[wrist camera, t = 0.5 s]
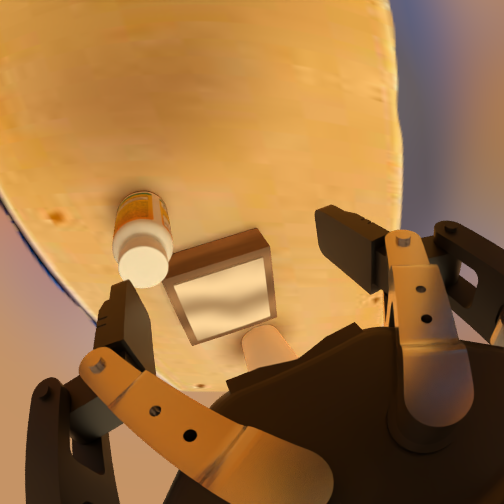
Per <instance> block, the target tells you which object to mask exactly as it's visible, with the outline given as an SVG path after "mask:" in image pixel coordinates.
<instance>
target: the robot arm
mask: <svg viewBox="0 0 504 504" xmlns="http://www.w3.org/2000/svg"><path fill="white" fill-rule="evenodd" d="M315 222H316V229H317V237H318V244H319V247H320V250H321V252H322V253H323V255H324V256H325V257H326V258H328V259H329V260H330V261H331V262H332V263H334V264H335V265H336V266H337V267H338V268H340V269H341V270H342V271H343V272H344V273H346V274H347V275H348V276H349V277H350V278H351V279H353V280H354V281H355V282H356V283H357V284H359V285H360V286H361V287H362V288H363V289H364V290H366V291H367V292H368V293H369V294H370V295H371V294H373V293H375V292H377V291H379V290H383V318H384V327H373V328H368V329H363V330H362V329H361V328H360V327H359V326H358V325H357V324H356V323H355V322H354V323H352V324H350V325H348V326H346V327H344V328H342V329H341V330H339V331H337V332H335V333H333V334H331V335H329V336H327V337H325V338H324V339H323V340H322V341H320V342H319V343H318V344H317V345H315V346H314V347H313V348H312V349H310V350H309V351H308V352H306V353H305V354H304V355H303V356H301V357H300V358H298V359H295V360H291V361H287V362H282V363H278V364H273V365H269V366H264V367H259V368H257V369H254V370H252V371H249V372H247V373H244V374H242V375H239V376H237V377H234V378H232V379H229V380H226V383H227V386H228V388H229V391H228V392H227V393H225V394H224V395H223V396H221V397H220V398H219V399H218V400H216V402H215V403H213V405H211V407H210V408H207V407H205V406H204V405H202V404H200V403H198V402H197V401H195V400H193V399H191V398H190V397H188V396H186V395H185V394H183V393H182V392H180V391H178V390H177V389H175V388H174V387H172V386H170V385H169V384H167V383H166V382H164V381H163V380H161V379H160V378H158V377H157V376H156V370H155V362H154V353H153V343H152V332H151V322H150V318H149V315H148V313H147V311H146V309H145V307H144V305H143V303H142V301H141V299H140V298H139V296H138V294H137V292H136V290H135V288H134V286H133V284H132V283H131V281H130V280H129V279H127V280H125V281H122V282H120V283H117V284H115V285H112V286H111V292H110V298H109V300H107V301H105V302H104V303H103V305H102V307H101V308H100V310H99V314H98V321H97V326H96V327H97V328H96V333H95V340H94V347H93V350H92V351H91V352H89V353H88V354H87V355H86V356H85V357H84V358H83V360H82V361H81V363H80V366H79V376H77V377H76V378H74V379H72V380H71V381H69V382H68V383H66V384H64V385H62V383H61V382H60V381H59V380H58V379H56V378H53V377H50V378H47V379H45V380H43V381H42V382H40V383H39V384H38V386H37V387H36V388H35V390H34V392H33V394H32V398H31V405H30V413H29V421H28V431H27V443H26V463H25V491H26V504H120V503H119V497H118V492H117V488H116V482H115V476H114V470H113V464H112V457H111V450H110V442H109V433H108V432H110V431H111V430H113V429H115V428H116V427H118V426H119V425H121V424H123V423H124V424H125V425H126V426H128V427H129V428H130V429H131V430H132V431H133V432H134V433H135V434H136V435H137V436H138V437H140V438H141V439H142V440H143V441H144V442H145V443H147V444H148V445H149V446H150V447H151V448H153V449H154V450H155V451H156V452H157V453H159V454H160V455H161V456H163V457H164V458H165V459H166V460H168V461H169V462H170V463H171V464H173V465H174V466H175V467H177V468H178V469H179V470H178V472H177V474H176V477H175V479H174V481H173V483H172V485H171V487H170V490H169V492H168V494H167V496H166V498H165V500H164V502H163V504H504V249H502V248H501V247H499V246H497V245H496V244H494V243H492V242H491V241H489V240H487V239H486V238H484V237H482V236H481V235H479V234H477V233H475V232H474V231H472V230H470V229H468V228H467V227H464V226H463V225H461V224H459V223H457V222H453V221H441V222H438V223H436V224H435V226H434V235H433V236H429V237H424V238H421V237H420V236H419V235H418V234H417V233H415V232H412V231H409V230H395V231H391V232H389V231H387V230H386V229H384V228H382V227H380V226H378V225H377V224H375V223H373V222H372V223H371V221H369V220H367V219H365V218H364V217H362V216H360V215H358V214H356V213H351V212H346V211H343V210H342V209H340V208H338V207H336V206H334V205H329V206H326V207H323V208H320V209H318V210H316V211H315ZM462 262H463V263H464V264H466V265H467V266H469V267H470V268H472V269H473V270H474V271H475V272H476V274H477V276H478V285H477V288H476V287H475V286H473V285H472V284H471V283H469V282H468V281H467V280H465V279H464V278H463V277H461V276H460V275H459V273H460V268H461V263H462ZM451 309H452V310H453V311H454V312H455V313H456V314H457V315H458V316H460V317H461V318H462V319H463V320H464V321H465V322H466V323H467V324H469V325H470V326H471V327H472V328H473V329H474V330H475V331H477V333H479V334H480V335H481V336H482V337H483V338H484V339H485V340H486V341H487V342H488V343H489V344H490V345H488V344H482V343H476V342H470V341H464V340H459V338H458V334H457V329H456V326H455V321H454V318H453V313H452V310H451ZM70 437H71V438H72V452H73V455H72V453H71V451H70Z"/></svg>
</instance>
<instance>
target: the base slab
mask: <svg viewBox="0 0 504 504" xmlns="http://www.w3.org/2000/svg"><path fill="white" fill-rule="evenodd" d="M162 282H163V285H164V287H165V289H166V292H167V294H168V296H169V298H170V301H171V303H172V305H173V307H174V309H175V311H176V314H177V316H178V318H179V320H180V322H181V324H182V326H183V328H184V330H185V332H186V335H187V337H188V339H189V341H190V343H191V345H192V346H193V345H197V344H200V343H203V342H206V341H209V340H212V339H215V338H218V337H221V336H224V335H227V334H230V333H233V332H236V331H239V330H242V329H245V328H248V327H251V326H254V325H256V324H259V323H262V322H265V321H268V320H270V319H273V318H276V317H277V311H276V301H275V291H274V281H273V271H272V261H271V251H270V246H269V244H268V243H267V241H266V240H265V239H264V237H263V236H262V234H261V233H260V231H259V230H258V229H257V228H256V229H252V230H249V231H246V232H242V233H239V234H236V235H232V236H229V237H226V238H222V239H219V240H216V241H213V242H209V243H206V244H203V245H200V246H196V247H193V248H190V249H187V250H184V251H180V252H177V253H174V254H172V256H171V259H170V260H169V262H168V272H167V275H166V277H165V278H164V279H163V280H162Z"/></svg>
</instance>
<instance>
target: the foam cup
mask: <svg viewBox="0 0 504 504" xmlns="http://www.w3.org/2000/svg"><path fill="white" fill-rule="evenodd" d="M241 344H242V348H243V352H244V356H245V360H246V365H247V369H248V372H249V371H252V370H254V369H257V368H259V367H264V366H269V365H273V364H278V363H282V362H287V361H291V360H295V359H298V358H299V357H298V356H297V355H296V353H295V352H294V351H293V349H292V348H291V347H290V345H289V344H288V343H287V342H286V340H285V339H284V338H283V336H282V335H281V334H280V332H279V331H278V330H277V329H276V328H275V327H273V326H272V325H262V326H258V327H255V328H253V329H252V330H250V331H249V332H247V333H246V335H245V336H244V337H243V339H242V343H241Z"/></svg>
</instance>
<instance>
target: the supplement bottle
mask: <svg viewBox="0 0 504 504" xmlns="http://www.w3.org/2000/svg"><path fill="white" fill-rule="evenodd" d="M112 251H113V256H114V258H115V260H116V262H117V263H118V270H119V274H120V276H121V278H122V279H123V280H124V281H125V280H127V279H129V280H130V281H131V283H132V284H133V286H134V287H136V288H150V287H153V286H155V285H157V284H159V283H160V282H161V281H162V280H163V279H164V278H165V277H166V275H167V272H168V262H169V260H170V259H171V256H172V253H173V239H172V234H171V228H170V222H169V217H168V212H167V208H166V205H165V203H164V202H163V200H162V199H161V198H160V197H158V196H157V195H156V194H154V193H151V192H147V191H144V192H136V193H133V194H130V195H129V196H127V197H126V198H125V199H124V200H123V201H122V202H121V204H120V205H119V208H118V211H117V216H116V222H115V229H114V236H113V243H112Z"/></svg>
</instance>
